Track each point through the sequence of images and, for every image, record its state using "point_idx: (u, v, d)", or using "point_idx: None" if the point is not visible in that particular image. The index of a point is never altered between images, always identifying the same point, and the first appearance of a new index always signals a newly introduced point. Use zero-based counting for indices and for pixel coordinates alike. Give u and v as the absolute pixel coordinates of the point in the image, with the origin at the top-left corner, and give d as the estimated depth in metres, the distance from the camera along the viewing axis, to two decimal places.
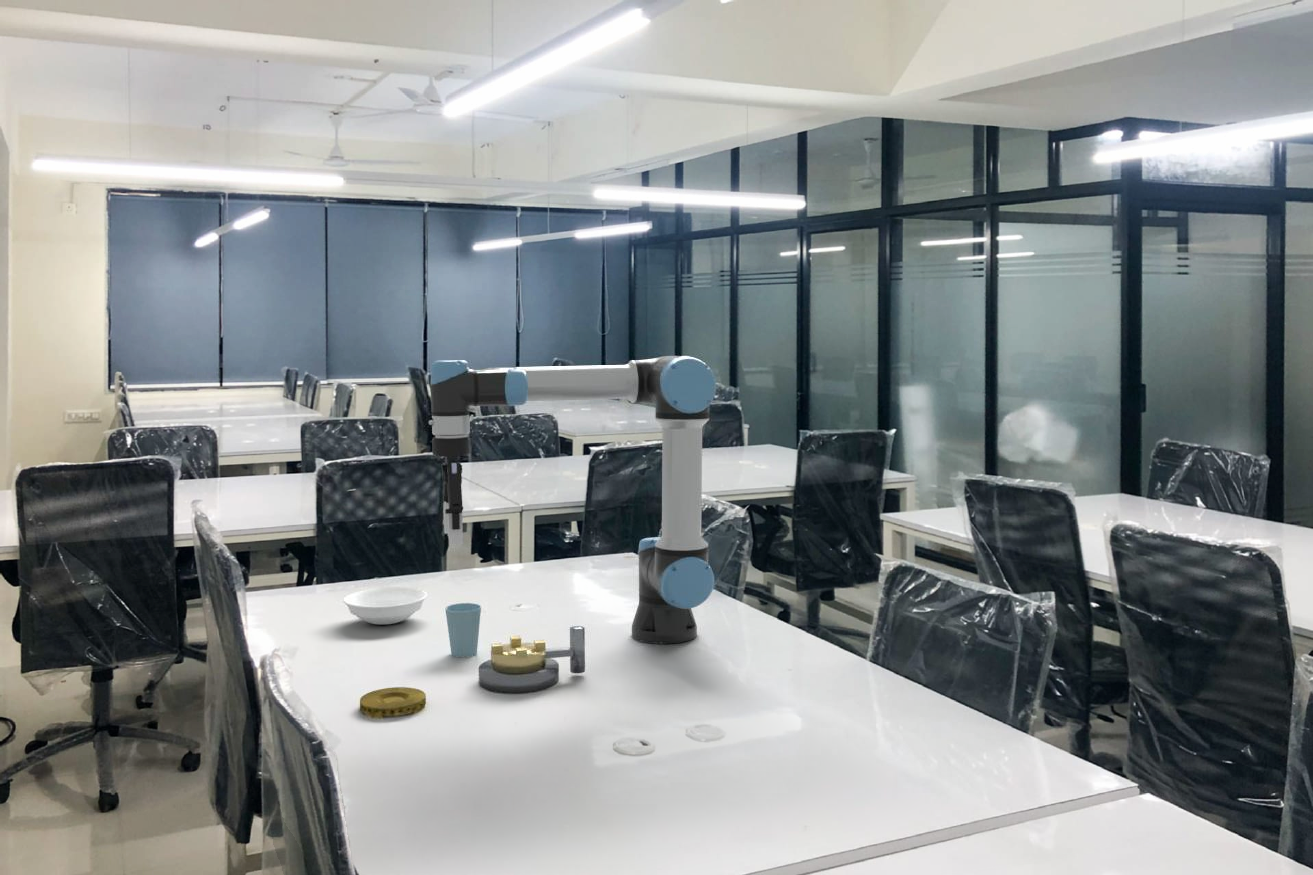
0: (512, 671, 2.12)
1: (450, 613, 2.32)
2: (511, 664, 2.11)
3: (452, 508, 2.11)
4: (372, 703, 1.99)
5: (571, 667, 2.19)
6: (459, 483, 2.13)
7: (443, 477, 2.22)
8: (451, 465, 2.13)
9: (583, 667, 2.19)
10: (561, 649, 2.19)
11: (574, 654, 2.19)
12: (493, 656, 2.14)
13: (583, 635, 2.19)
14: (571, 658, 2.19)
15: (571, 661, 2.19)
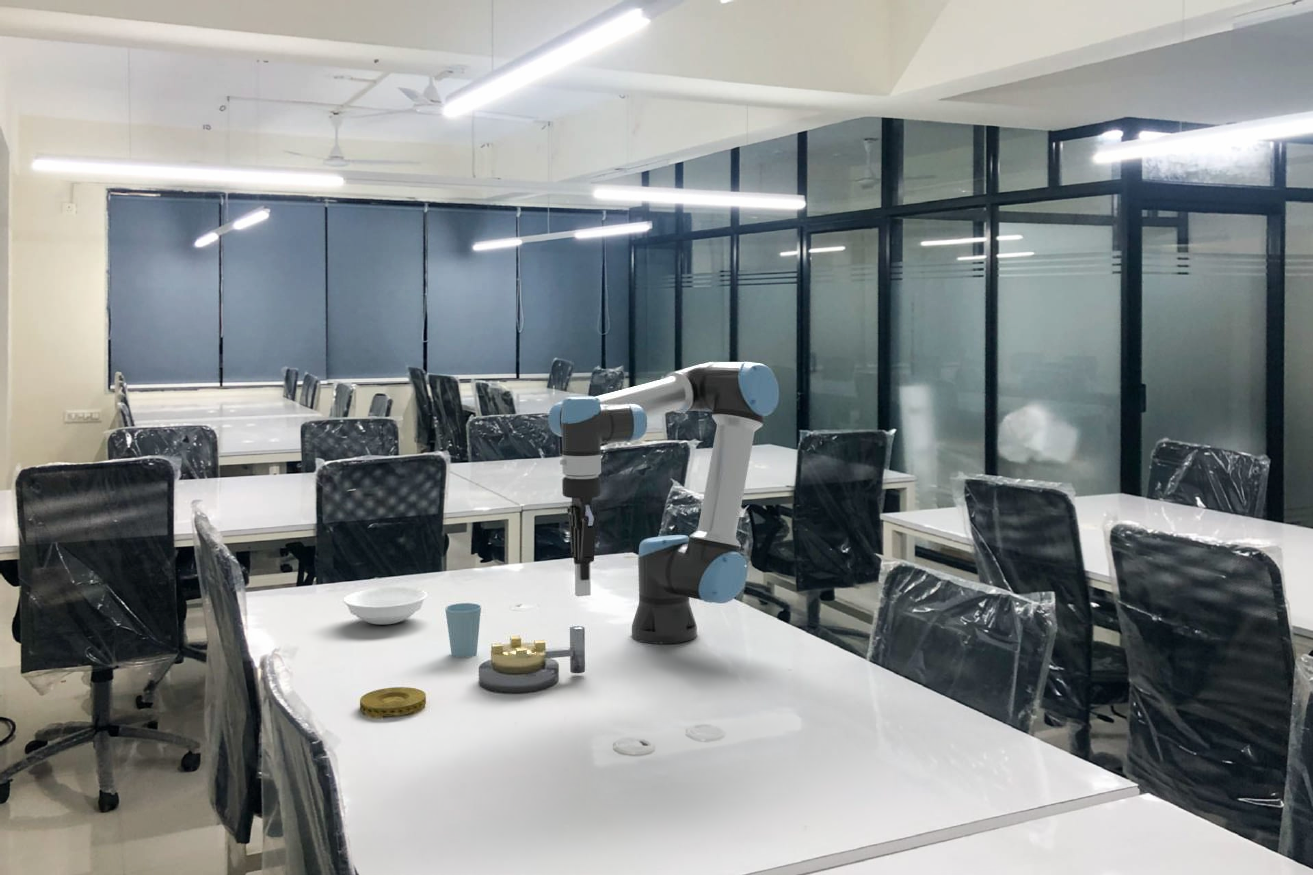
0: (512, 671, 2.12)
1: (450, 613, 2.32)
2: (511, 664, 2.11)
3: (584, 561, 2.08)
4: (372, 703, 1.99)
5: (571, 667, 2.19)
6: (593, 536, 2.07)
7: (573, 521, 2.11)
8: (588, 520, 2.05)
9: (583, 667, 2.19)
10: (561, 649, 2.19)
11: (574, 654, 2.19)
12: (493, 656, 2.14)
13: (583, 635, 2.19)
14: (571, 658, 2.19)
15: (571, 661, 2.19)
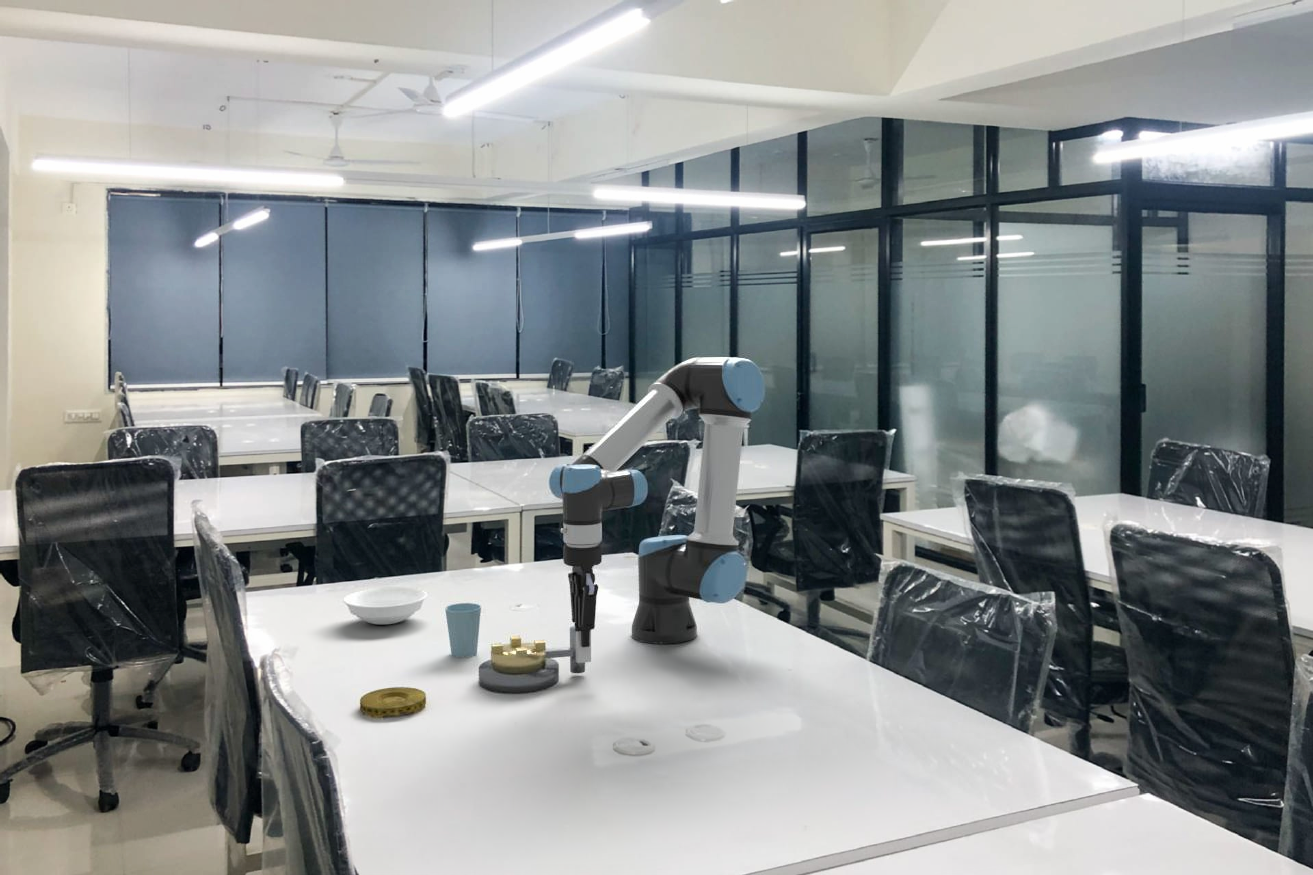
0: (512, 671, 2.12)
1: (450, 613, 2.32)
2: (511, 664, 2.11)
3: (584, 629, 2.09)
4: (373, 703, 1.99)
5: (571, 667, 2.19)
6: (594, 604, 2.08)
7: (574, 588, 2.12)
8: (589, 589, 2.06)
9: (583, 667, 2.19)
10: (561, 649, 2.19)
11: (574, 654, 2.19)
12: (493, 656, 2.14)
13: None
14: (571, 658, 2.19)
15: (571, 661, 2.19)
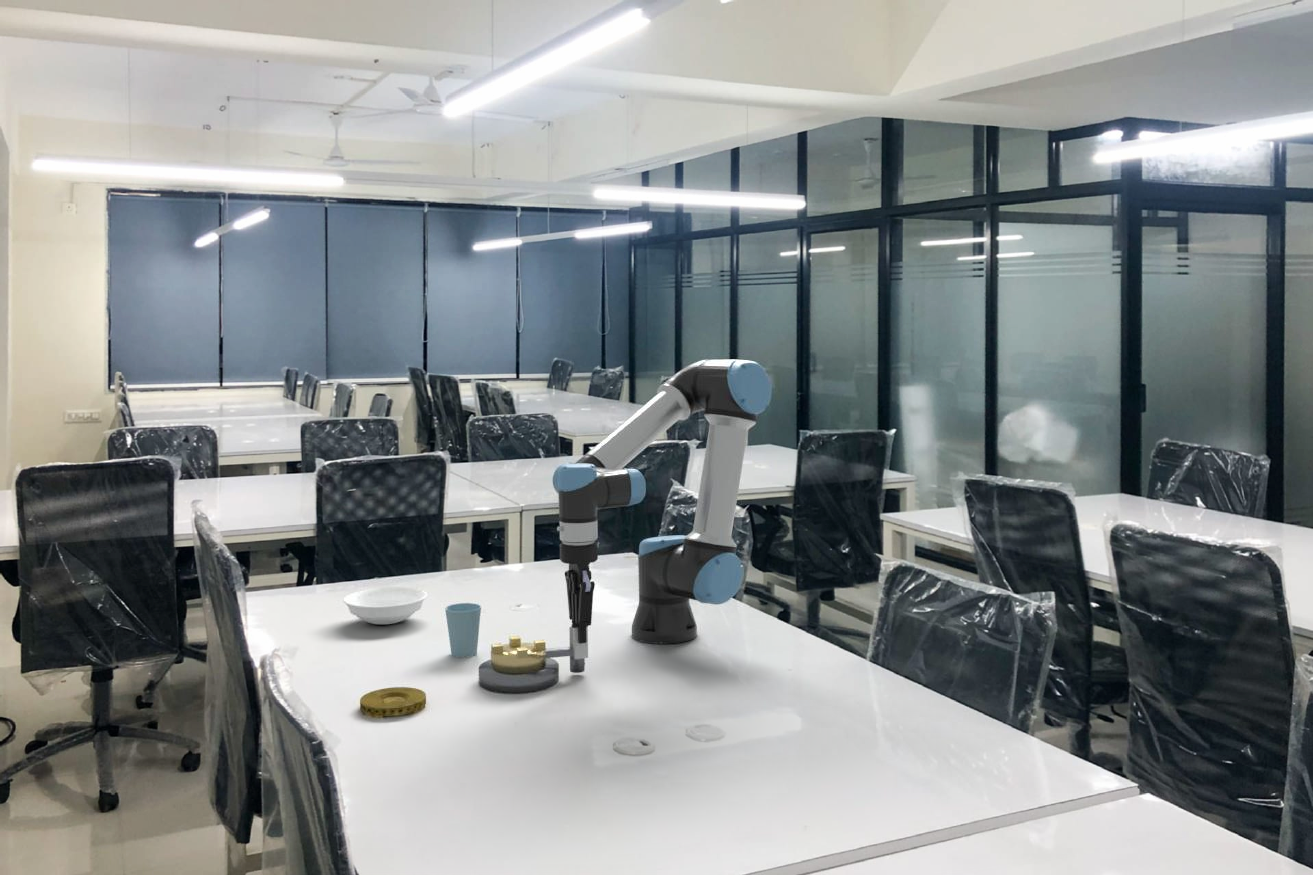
0: (513, 671, 2.12)
1: (450, 613, 2.32)
2: (512, 664, 2.11)
3: (581, 625, 2.12)
4: (373, 703, 1.99)
5: (571, 667, 2.20)
6: (591, 601, 2.11)
7: (571, 585, 2.15)
8: (586, 586, 2.09)
9: (583, 666, 2.20)
10: (561, 648, 2.19)
11: None
12: (493, 656, 2.14)
13: None
14: (571, 658, 2.19)
15: (571, 661, 2.20)
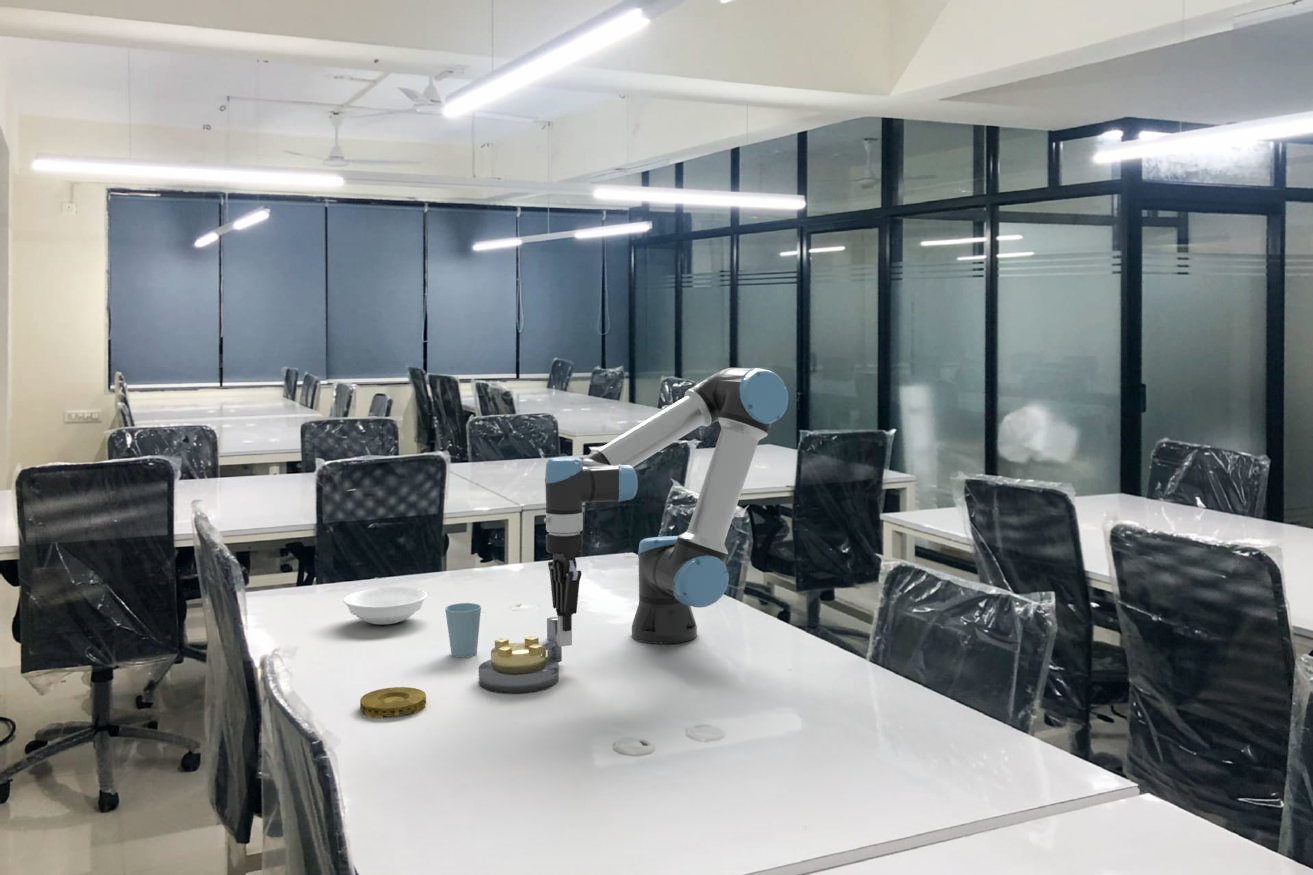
0: (533, 669, 2.13)
1: (450, 613, 2.32)
2: (532, 662, 2.12)
3: (567, 613, 2.20)
4: (373, 703, 1.99)
5: (552, 657, 2.26)
6: (577, 590, 2.19)
7: (556, 575, 2.23)
8: (573, 575, 2.17)
9: (561, 655, 2.28)
10: (545, 641, 2.24)
11: (556, 644, 2.26)
12: (508, 659, 2.11)
13: None
14: (552, 649, 2.26)
15: (552, 652, 2.26)
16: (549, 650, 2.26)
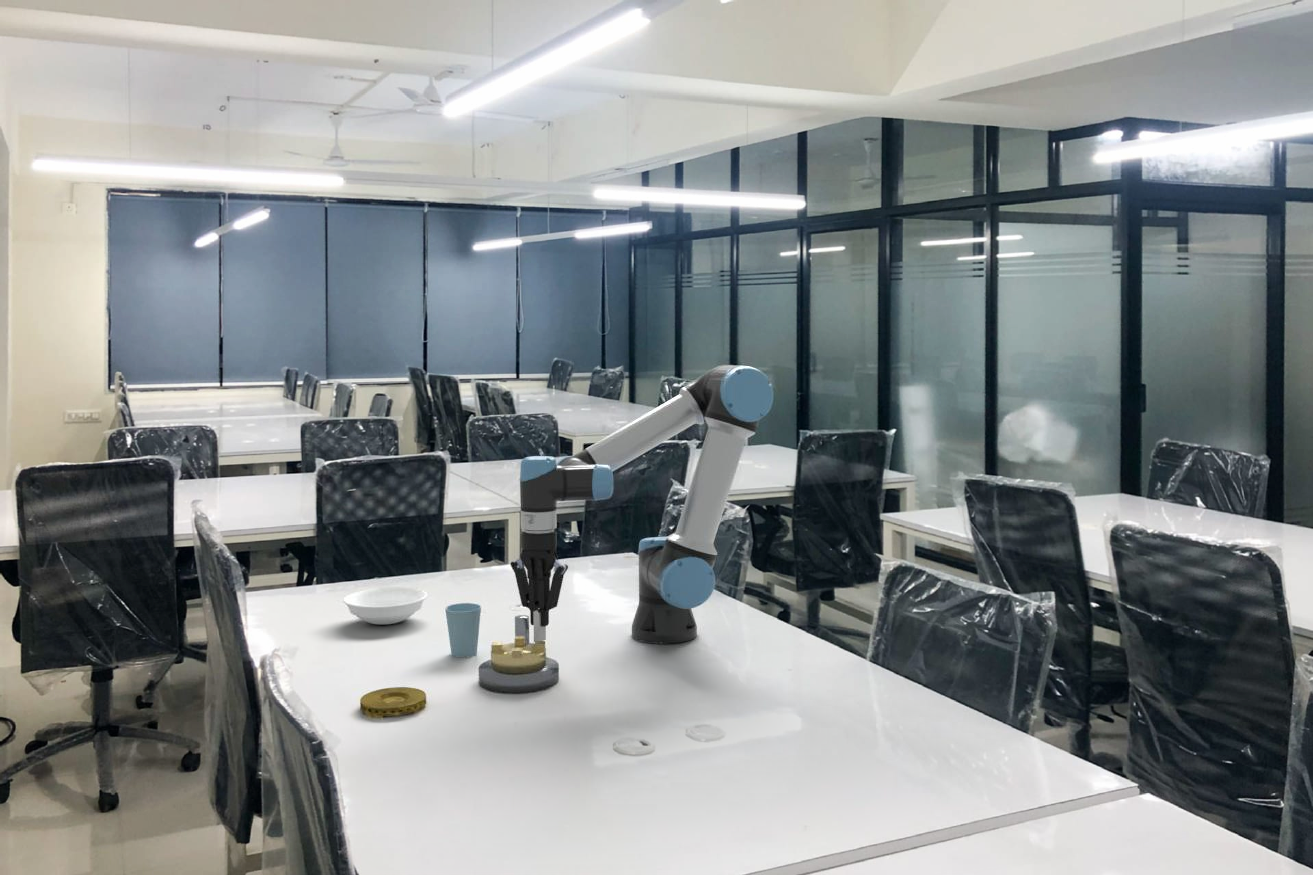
0: (544, 665, 2.15)
1: (450, 613, 2.32)
2: (543, 658, 2.15)
3: (552, 608, 2.25)
4: (373, 703, 1.99)
5: None
6: (561, 583, 2.26)
7: (532, 573, 2.26)
8: (563, 569, 2.24)
9: None
10: None
11: (527, 641, 2.28)
12: (525, 659, 2.12)
13: None
14: None
15: None
16: None
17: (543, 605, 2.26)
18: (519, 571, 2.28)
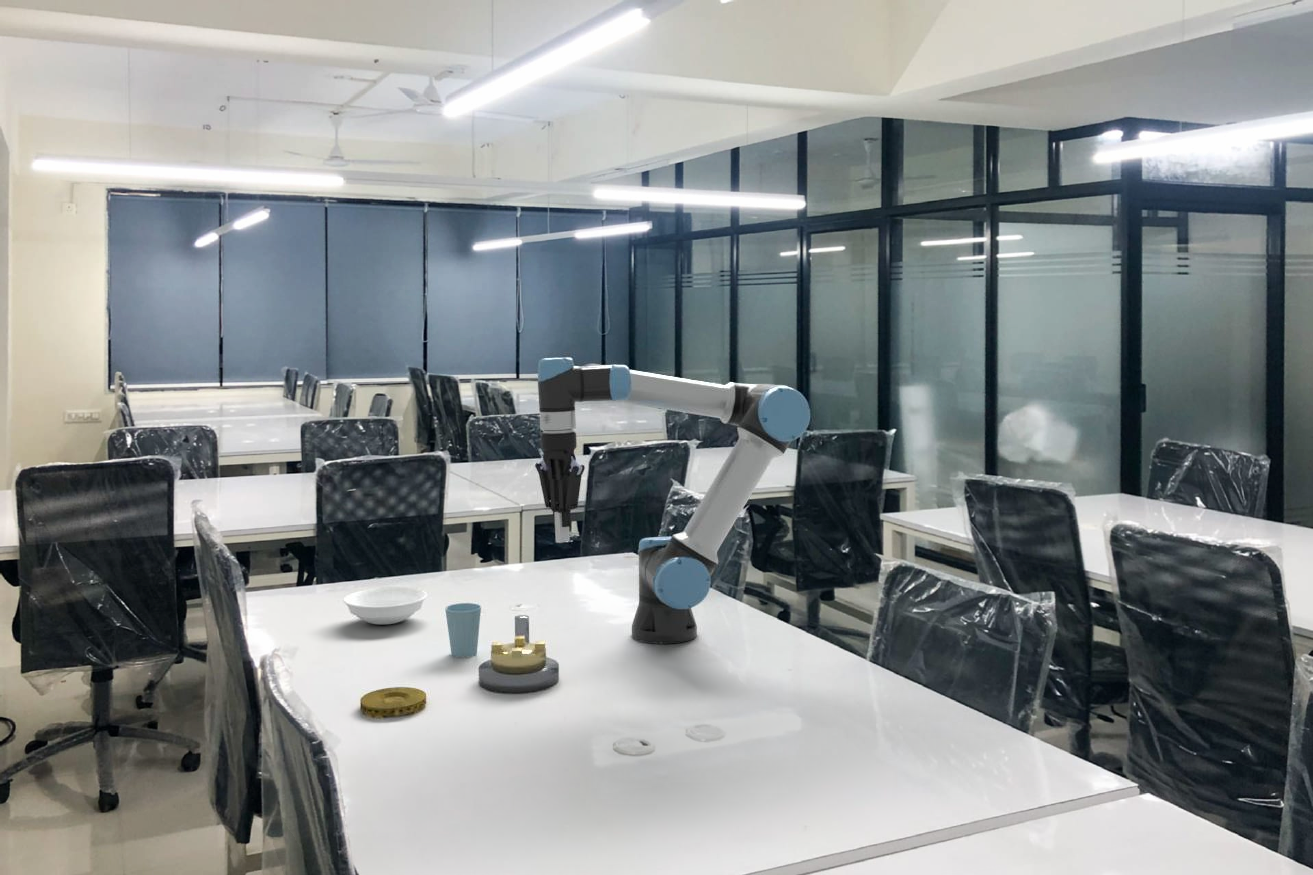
0: (544, 665, 2.15)
1: (450, 613, 2.32)
2: (543, 658, 2.15)
3: (570, 508, 2.26)
4: (373, 703, 1.99)
5: None
6: (579, 484, 2.26)
7: (552, 473, 2.27)
8: (578, 469, 2.23)
9: None
10: None
11: (527, 641, 2.28)
12: (525, 659, 2.12)
13: None
14: None
15: None
16: None
17: (562, 506, 2.27)
18: (542, 472, 2.30)
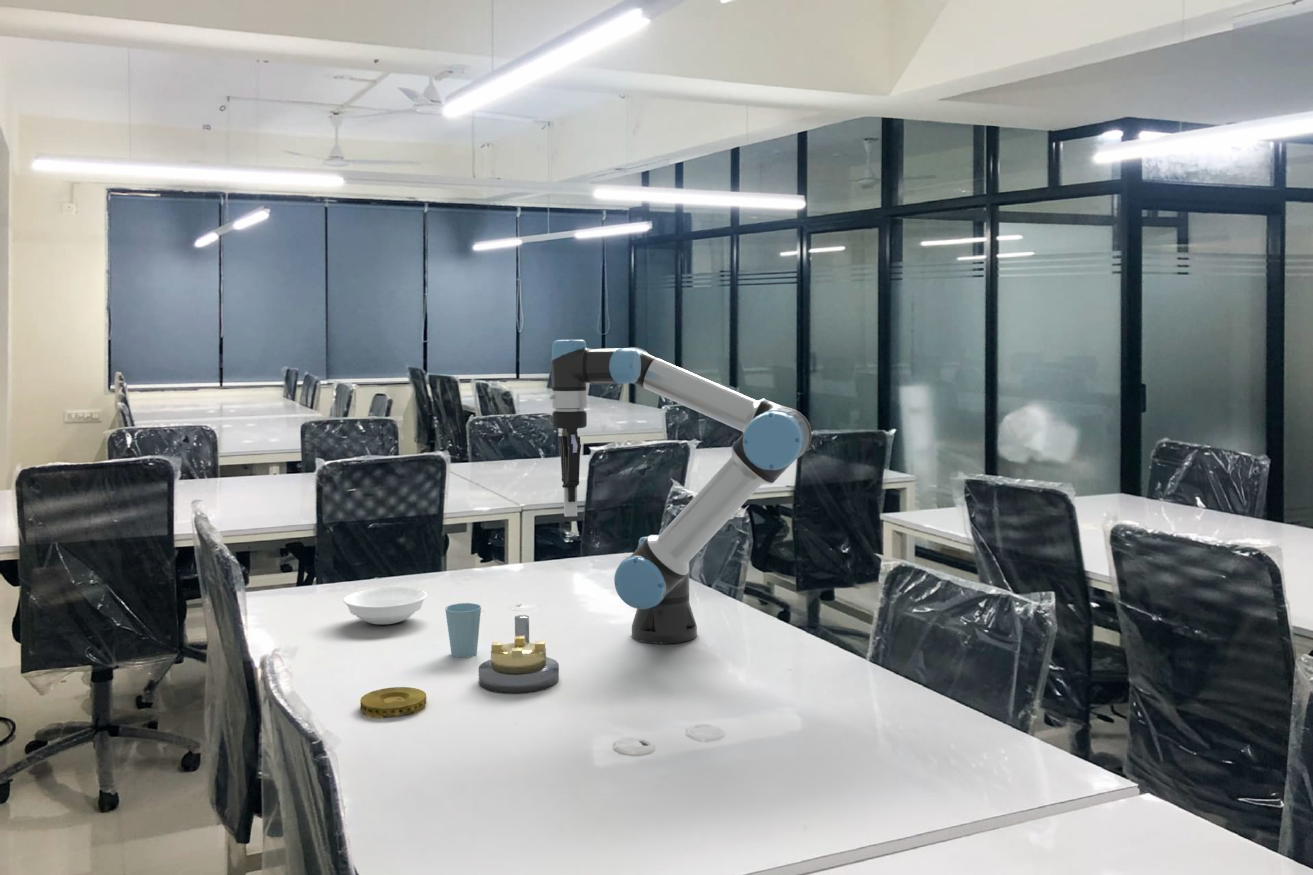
0: (544, 665, 2.15)
1: (450, 613, 2.32)
2: (543, 658, 2.15)
3: (570, 484, 2.35)
4: (373, 703, 1.99)
5: None
6: (578, 462, 2.34)
7: (562, 450, 2.38)
8: (572, 447, 2.32)
9: None
10: None
11: (527, 641, 2.28)
12: (525, 659, 2.12)
13: None
14: None
15: None
16: None
17: (566, 481, 2.37)
18: None
